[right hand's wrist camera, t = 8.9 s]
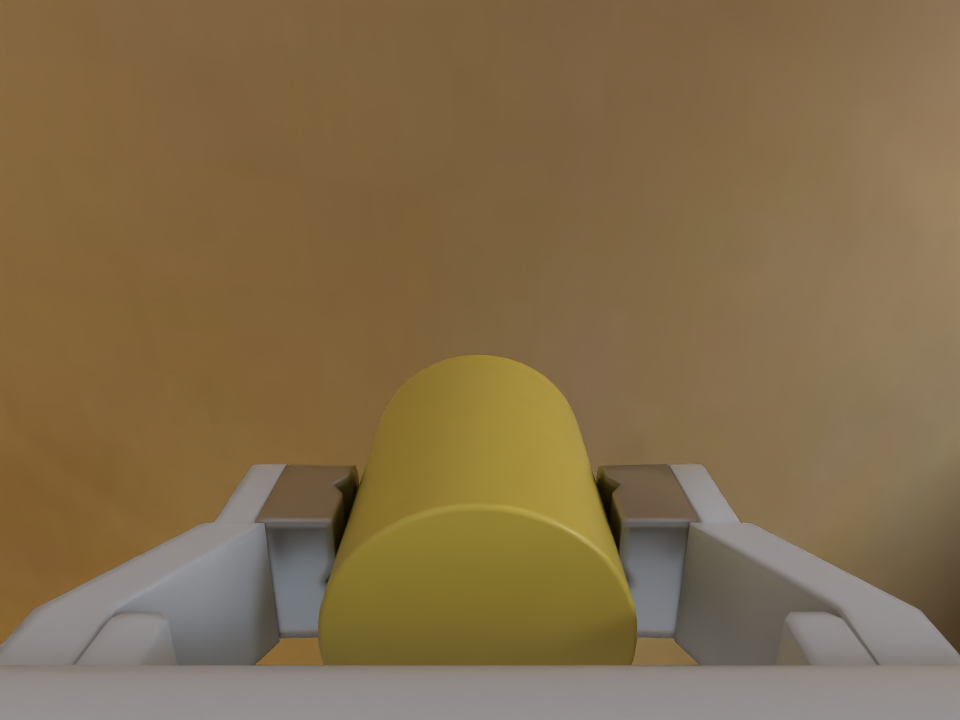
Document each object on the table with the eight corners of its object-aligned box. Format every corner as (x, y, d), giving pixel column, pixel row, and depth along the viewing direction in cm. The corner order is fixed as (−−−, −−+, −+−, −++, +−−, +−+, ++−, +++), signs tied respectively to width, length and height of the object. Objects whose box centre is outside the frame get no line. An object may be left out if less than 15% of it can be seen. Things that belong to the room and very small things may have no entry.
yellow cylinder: (596, 365, 11) (670, 524, 7) (562, 543, 13) (605, 773, 8) (384, 341, 11) (322, 487, 7) (370, 524, 12) (310, 747, 8)
